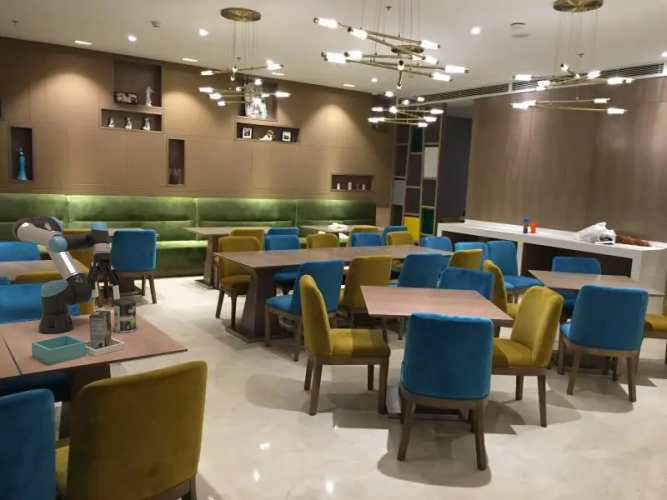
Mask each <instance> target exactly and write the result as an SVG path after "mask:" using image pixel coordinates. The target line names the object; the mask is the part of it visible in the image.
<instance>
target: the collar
mask: <svg viewBox="0 0 667 500" xmlns="http://www.w3.org/2000/svg"><path fill="white" fill-rule="evenodd" d="M111 339H112V346H108V347H104V348H100V349H96V350H95V349H92V348H91V344H90V340H86V341H84V342H85V348H86V354H89V355H90V356H93V357H97V356H101V355H105V354H110V353H113V352H116V351H120V350H123V349H126V343H125V342H123V341H121V340H118V339H116V338H113V337H111Z"/></svg>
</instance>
